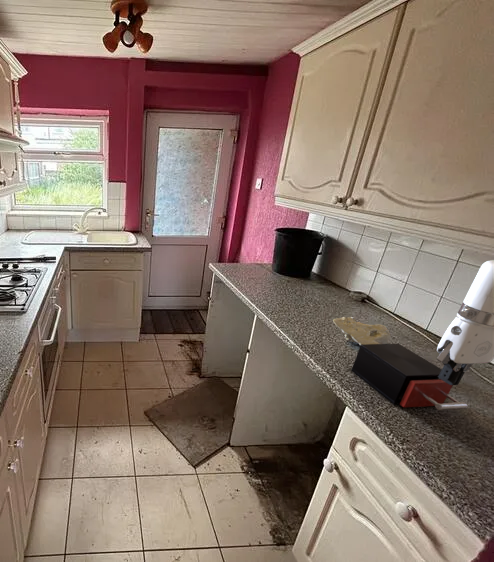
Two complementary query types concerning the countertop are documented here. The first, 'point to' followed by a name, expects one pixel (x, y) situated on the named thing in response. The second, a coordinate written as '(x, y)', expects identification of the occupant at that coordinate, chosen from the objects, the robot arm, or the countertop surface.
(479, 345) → the robot arm
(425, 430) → the countertop surface
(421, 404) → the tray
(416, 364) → the black drawer housing
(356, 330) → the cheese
